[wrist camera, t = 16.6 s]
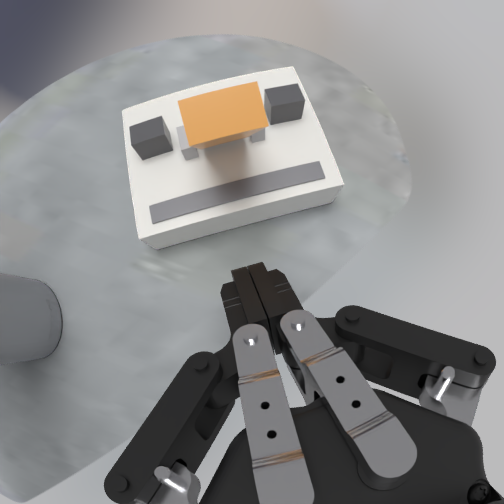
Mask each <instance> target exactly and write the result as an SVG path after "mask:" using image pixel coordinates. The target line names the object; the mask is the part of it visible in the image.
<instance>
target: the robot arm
mask: <svg viewBox="0 0 504 504" xmlns="http://www.w3.org/2000/svg"><path fill="white" fill-rule="evenodd" d="M247 268H248V269H247ZM231 273H232V277H233V282H230V283H226V284H223V286H222V289H221V292H220V293H221V297H222V301H223V305H224V308H225V312H226V316H227V320H228V323H229V327H230V331H231V338H230V341H229V342H228V344H227V345H226V346H225V347H224V348H223V349H221V350H220V351H218V352H216V353H215V354H213V353H211V352H198V353H196V354H194V355H192V356H191V357H189V358H188V359H187V361H186V362H185V364H184V365H183V367H182V368H181V369H180V371H179V372H178V374H177V375H176V377H175V378H174V380H173V381H172V383H171V384H170V385H169V387H168V388H167V390H166V391H165V393H164V394H163V396H162V397H161V398H160V400H159V401H158V403H157V404H156V406H155V407H154V409H153V410H152V411H151V413H150V414H149V416H148V417H147V419H146V420H145V422H144V423H143V424H142V426H141V427H140V429H139V430H138V432H137V433H136V435H135V436H134V437H133V439H132V440H131V442H130V443H129V445H128V446H127V447H126V449H125V450H124V452H123V453H122V455H121V456H120V457H119V459H118V461H117V462H116V463H115V465H114V466H113V467H112V469H111V471H110V472H109V473H108V475H107V476H106V478H105V482H104V489H105V492H106V494H107V496H108V497H109V498H110V499H111V500H112V501H114V502H116V503H118V504H198V503H197V499H198V495H199V492H200V489H201V485H200V481H199V479H198V478H197V476H196V475H195V472H196V471H197V469H198V467H199V466H200V464H201V462H202V461H203V459H204V457H205V455H206V453H207V452H208V450H209V449H210V447H211V445H212V443H213V442H214V440H215V438H216V436H217V435H218V433H219V431H220V429H221V428H222V426H223V424H224V422H225V421H226V419H227V417H228V415H229V413H230V412H231V410H232V408H233V406H234V404H235V399H237V398H238V397H241V403H242V409H243V414H244V419H245V425H246V428H245V429H243V430H242V431H241V432H240V433H239V434H238V435H237V436H236V437H235V438H234V439H233V441H232V442H231V444H230V445H229V447H228V449H227V451H226V453H225V455H224V457H223V459H222V461H221V463H220V465H219V467H218V469H217V470H216V472H215V474H214V476H213V478H212V480H211V482H210V484H209V486H208V488H207V489H206V491H205V493H204V495H203V497H202V499H201V501H200V502H199V504H504V498H503V497H502V496H501V495H500V494H499V493H498V492H497V491H496V490H495V489H494V488H493V487H492V486H491V485H490V484H489V482H488V480H487V478H486V475H485V471H484V465H483V449H482V448H483V447H482V442H481V440H480V437H479V436H478V434H477V432H476V431H475V430H474V429H473V428H472V427H471V425H472V422H473V419H474V416H475V412H476V409H477V405H478V402H479V397H480V394H481V390H482V388H483V387H484V385H485V384H486V382H487V380H488V378H489V376H490V375H491V373H492V372H493V370H494V368H495V366H496V359H495V356H494V354H493V353H492V352H491V351H490V350H489V349H488V348H486V347H484V346H481V345H478V344H474V343H471V342H468V341H465V340H462V339H458V338H455V337H452V336H448V335H446V334H443V333H439V332H436V331H433V330H430V329H427V328H424V327H421V326H417V325H415V324H411V323H408V322H405V321H402V320H399V319H396V318H393V317H390V316H387V315H384V314H381V313H378V312H375V311H372V310H368V309H366V308H363V307H360V306H354V305H352V306H345V307H343V308H342V309H340V310H339V311H338V312H337V313H336V316H335V317H333V318H316V317H314V316H313V315H312V314H311V313H310V312H308V311H305V310H304V309H303V307H302V306H301V304H300V302H299V300H298V298H297V296H296V295H295V293H294V291H293V289H292V287H291V285H290V284H289V282H288V280H287V278H286V276H285V275H284V274H283V273H282V272H280V271H279V270H277V269H275V270H271V271H268V272H267V270H266V268H265V266H264V263H263V262H260V263H256V264H253V265H249V266H247V267H242V268H239V269H235V270H232V271H231ZM61 329H62V319H61V311H60V308H59V304H58V301H57V299H56V297H55V295H54V293H53V292H52V291H51V289H50V288H49V287H48V286H47V285H46V284H44V283H42V282H41V281H38V280H34V279H28V278H23V277H18V276H13V275H8V274H3V273H0V365H5V364H11V363H18V362H24V361H30V360H35V359H41V358H45V357H46V356H48V355H50V354H51V353H52V352H53V351H54V349H55V348H56V346H57V344H58V341H59V339H60V335H61ZM273 348H274V349H273ZM274 350H275V353H276V355H277V354H281V353H282V355H283V357H284V360H285V362H286V363H287V367H288V369H289V371H290V373H291V375H292V377H293V379H294V380H295V383H296V384H297V386H298V388H299V390H300V392H301V394H302V396H303V398H304V400H305V402H306V405H307V406H304V407H296V408H289V405H288V401H287V397H286V394H285V391H284V387H283V383H282V379H281V376H280V373H279V371H278V368H277V364H276V361H275V357H274ZM366 380H368V381H371V382H373V383H376V384H379V385H381V386H384V387H386V388H389V389H392V390H394V391H397V392H400V393H403V394H405V395H408V396H411V397H414V398H417V399H419V403H420V405H421V406H419V405H416V404H414V403H411V402H409V401H406V400H404V399H401V398H399V397H396V396H394V395H392V394H389V393H387V392H385V391H381V390H378V389H373V388H371V387H370V385H369V384H368V382H367V381H366Z"/></svg>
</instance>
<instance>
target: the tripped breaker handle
mask: <svg viewBox="0 0 504 504" xmlns="http://www.w3.org/2000/svg"><path fill="white" fill-rule="evenodd" d="M178 105H179V109H180V113H181V117H182V121H183V124H184V128H185V132H186V136H187V140H188V143H189V146H190V147H194V148H198V149H204V148H208V147H212V146H215V145H219V144H223V143H227V142H231V141H235V140H239V139H243V138H247V137H249V136H251V135H252V134H254V133H256V132H258V131H260V130H262V129H264V128H266V127H268V126H269V124H268V121H267V117H266V113H265V109H264V105H263V101H262V97H261V94H260V90H259V86H258V83H257V81H256V82H251V83H246V84H241V85H237V86H232V87H228V88H224V89H220V90H216V91H212V92H208V93H204V94H200V95H197V96H193V97H189V98H186V99H182V100H179V101H178Z"/></svg>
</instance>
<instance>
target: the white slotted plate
mask: <svg viewBox="0 0 504 504" xmlns="http://www.w3.org/2000/svg"><path fill="white" fill-rule="evenodd" d="M256 81H257V83H258V86H259V90H260V94H261V97H262V101H263V105H264V109H265V113H266V117H267V121H268V124H269V126H268V127H266V128H264V129H262V130H260V131H258V132H256V133H254V134H252V135H251V136H249V137H247V138H243V139H239V140H235V141H231V142H227V143H223V144H219V145H215V146H212V147H208V148H204V149H198V148H194V147H190V146H189V143H188V140H187V136H186V132H185V128H184V124H183V121H182V117H181V113H180V109H179V105H178V101H179V100H182V99H186V98H189V97H193V96H197V95H200V94H204V93H208V92H212V91H216V90H220V89H224V88H228V87H232V86H237V85H241V84H246V83H251V82H256ZM122 114H123V126H124V137H125V146H126V156H127V164H128V172H129V180H130V187H131V194H132V201H133V207H134V213H135V220H136V225H137V231H138V237H139V240H141V241H143V242H144V243H146V244H148V245H149V246H151V247H153V248H154V249H156V250H158V249H161V248H165V247H168V246H172V245H175V244H179V243H182V242H186V241H189V240H193V239H197V238H200V237H204V236H207V235H211V234H215V233H218V232H222V231H226V230H229V229H233V228H237V227H240V226H244V225H248V224H251V223H255V222H259V221H263V220H267V219H270V218H274V217H278V216H282V215H286V214H289V213H293V212H297V211H301V210H305V209H309V208H313V207H317V206H321V205H325V204H329V203H332V202H333V200H334V199H335V197H336V196H337V194H338V193H339V191H340V190H341V188H342V187H343V185H344V183H343V180H342V177H341V175H340V172H339V169H338V167H337V164H336V162H335V159H334V157H333V154H332V152H331V149H330V147H329V144H328V142H327V140H326V137H325V135H324V132H323V130H322V128H321V125H320V123H319V121H318V119H317V116H316V114H315V112H314V110H313V107H312V105H311V103H310V101H309V99H308V96H307V94H306V92H305V90H304V88H303V86H302V84H301V82H300V80H299V77H298V75H297V73H296V71H295V69H294V67H293V66H291V67H285V68H278V69H273V70H267V71H261V72H256V73H251V74H246V75H241V76H237V77H232V78H228V79H224V80H219V81H215V82H211V83H207V84H203V85H200V86H196V87H192V88H189V89H185V90H182V91H178V92H175V93H172V94H168V95H165V96H162V97H159V98H156V99H153V100H150V101H147V102H144V103H141V104H138V105H135V106H132V107H130V108H127V109H124V110H122Z"/></svg>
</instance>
